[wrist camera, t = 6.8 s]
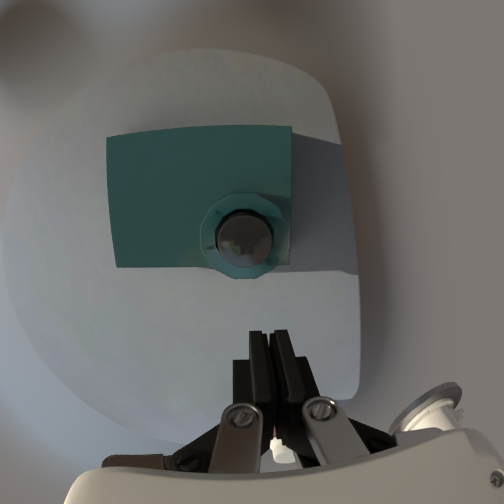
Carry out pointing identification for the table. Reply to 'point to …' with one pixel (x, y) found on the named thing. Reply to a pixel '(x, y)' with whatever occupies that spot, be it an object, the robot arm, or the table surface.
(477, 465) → the robot arm
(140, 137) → the teal rectangular block
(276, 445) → the pill bottle
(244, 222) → the dark grey push button
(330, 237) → the table surface
